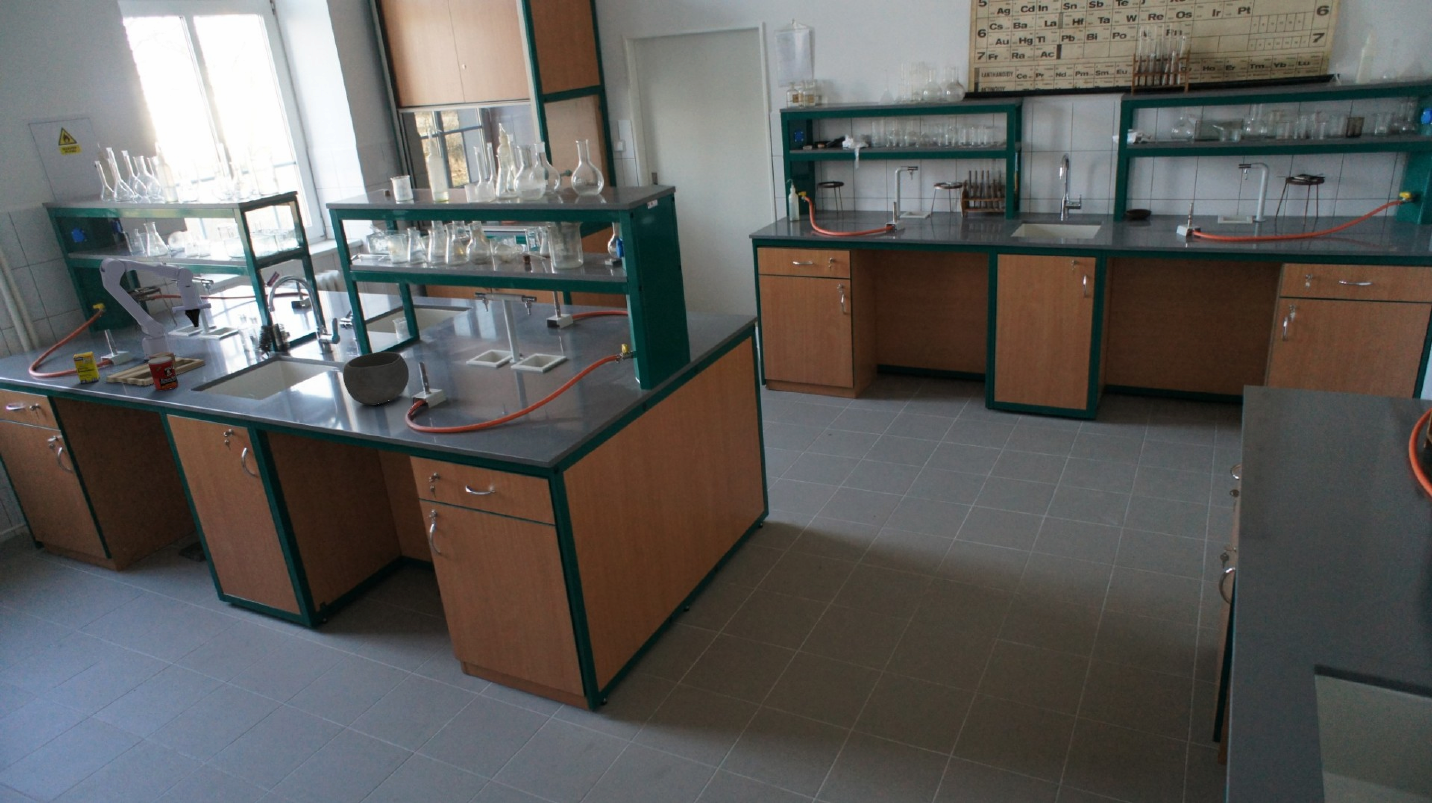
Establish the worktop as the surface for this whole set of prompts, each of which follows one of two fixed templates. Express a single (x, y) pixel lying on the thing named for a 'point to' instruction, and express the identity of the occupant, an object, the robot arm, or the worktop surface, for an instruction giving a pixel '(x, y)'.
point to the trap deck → (143, 373)
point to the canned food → (163, 373)
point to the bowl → (376, 377)
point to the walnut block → (165, 355)
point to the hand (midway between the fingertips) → (196, 326)
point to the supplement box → (86, 367)
